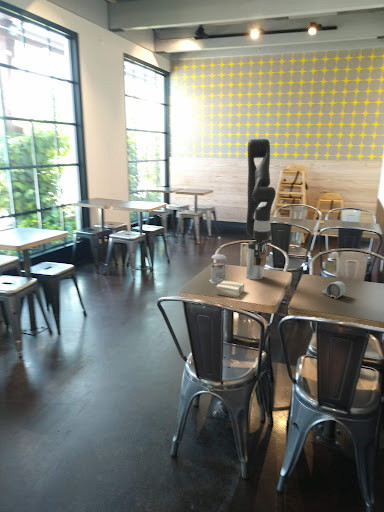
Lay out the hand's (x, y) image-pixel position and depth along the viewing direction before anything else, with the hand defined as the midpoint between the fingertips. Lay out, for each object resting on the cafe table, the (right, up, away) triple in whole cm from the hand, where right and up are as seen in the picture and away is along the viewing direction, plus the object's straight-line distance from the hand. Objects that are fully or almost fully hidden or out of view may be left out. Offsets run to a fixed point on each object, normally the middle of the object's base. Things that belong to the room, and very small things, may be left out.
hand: (259, 263), depth 186 cm
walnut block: (0, -1, 0) cm, 1 cm away
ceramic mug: (+37, -16, +4) cm, 41 cm away
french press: (-18, -10, +24) cm, 32 cm away
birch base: (-14, -15, +6) cm, 21 cm away
